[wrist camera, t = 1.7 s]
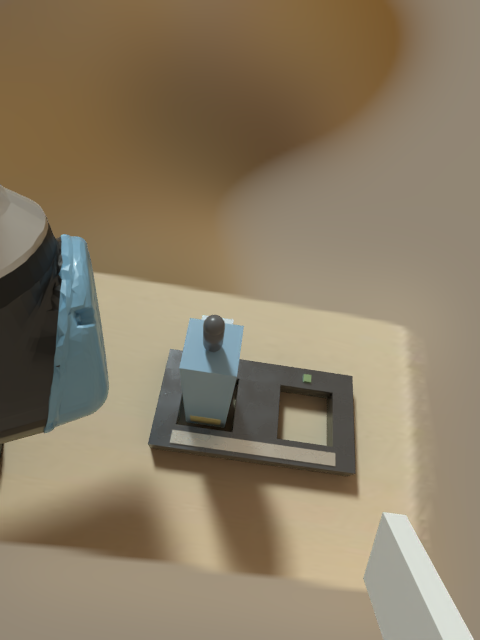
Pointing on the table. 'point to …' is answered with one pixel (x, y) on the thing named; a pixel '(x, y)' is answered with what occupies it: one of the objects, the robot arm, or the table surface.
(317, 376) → the port panel
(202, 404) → the plug
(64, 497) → the table surface
